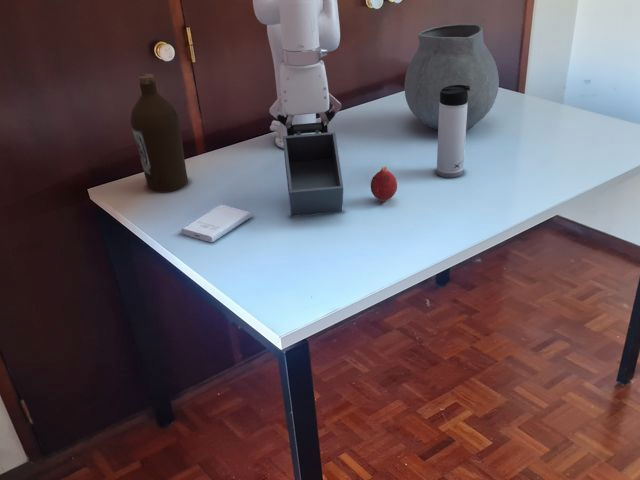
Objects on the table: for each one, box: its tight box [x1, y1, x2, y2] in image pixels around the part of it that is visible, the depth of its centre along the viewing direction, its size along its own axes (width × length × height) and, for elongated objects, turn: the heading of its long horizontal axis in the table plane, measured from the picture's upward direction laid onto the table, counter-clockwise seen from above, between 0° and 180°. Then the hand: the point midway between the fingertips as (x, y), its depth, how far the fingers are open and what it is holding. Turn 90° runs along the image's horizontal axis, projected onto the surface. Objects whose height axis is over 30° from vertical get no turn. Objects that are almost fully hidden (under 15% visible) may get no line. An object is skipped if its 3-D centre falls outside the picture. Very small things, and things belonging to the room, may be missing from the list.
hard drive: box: [181, 204, 251, 243], centre depth 149 cm, size 2×8×12 cm
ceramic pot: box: [404, 23, 500, 130], centre depth 185 cm, size 24×24×25 cm
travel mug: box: [436, 85, 470, 179], centre depth 161 cm, size 6×7×20 cm
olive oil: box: [130, 73, 189, 193], centre depth 160 cm, size 11×11×25 cm
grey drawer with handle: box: [283, 121, 344, 217], centre depth 151 cm, size 19×11×9 cm
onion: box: [370, 165, 398, 203], centre depth 154 cm, size 6×6×8 cm
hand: (308, 142), depth 155 cm, fingers closed on grey drawer with handle, 6 cm apart
